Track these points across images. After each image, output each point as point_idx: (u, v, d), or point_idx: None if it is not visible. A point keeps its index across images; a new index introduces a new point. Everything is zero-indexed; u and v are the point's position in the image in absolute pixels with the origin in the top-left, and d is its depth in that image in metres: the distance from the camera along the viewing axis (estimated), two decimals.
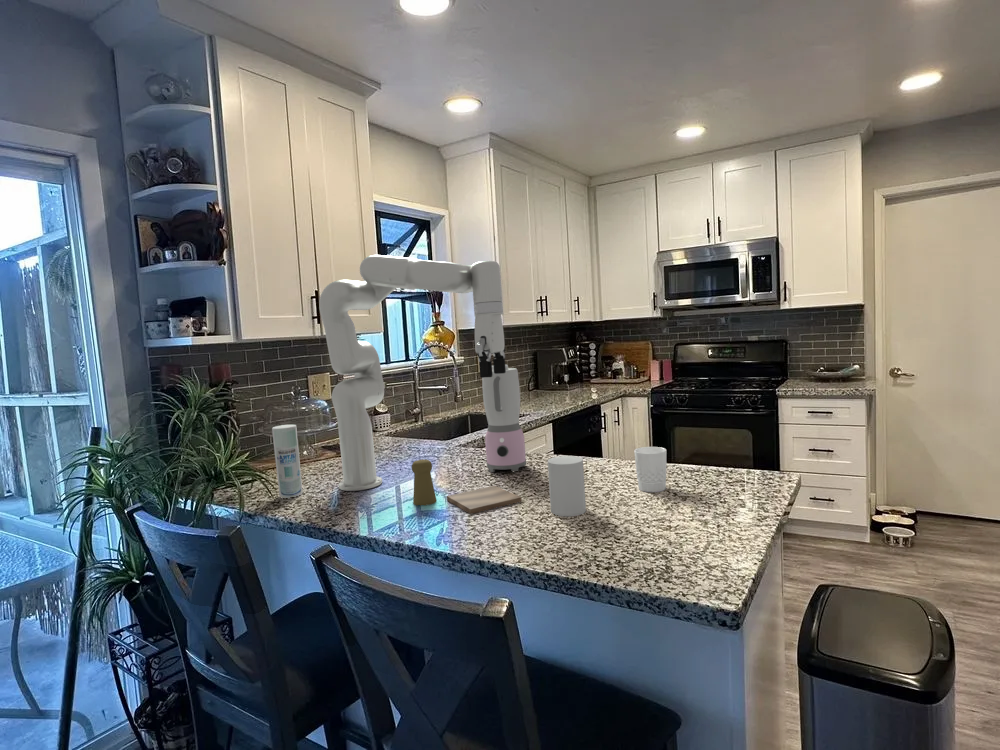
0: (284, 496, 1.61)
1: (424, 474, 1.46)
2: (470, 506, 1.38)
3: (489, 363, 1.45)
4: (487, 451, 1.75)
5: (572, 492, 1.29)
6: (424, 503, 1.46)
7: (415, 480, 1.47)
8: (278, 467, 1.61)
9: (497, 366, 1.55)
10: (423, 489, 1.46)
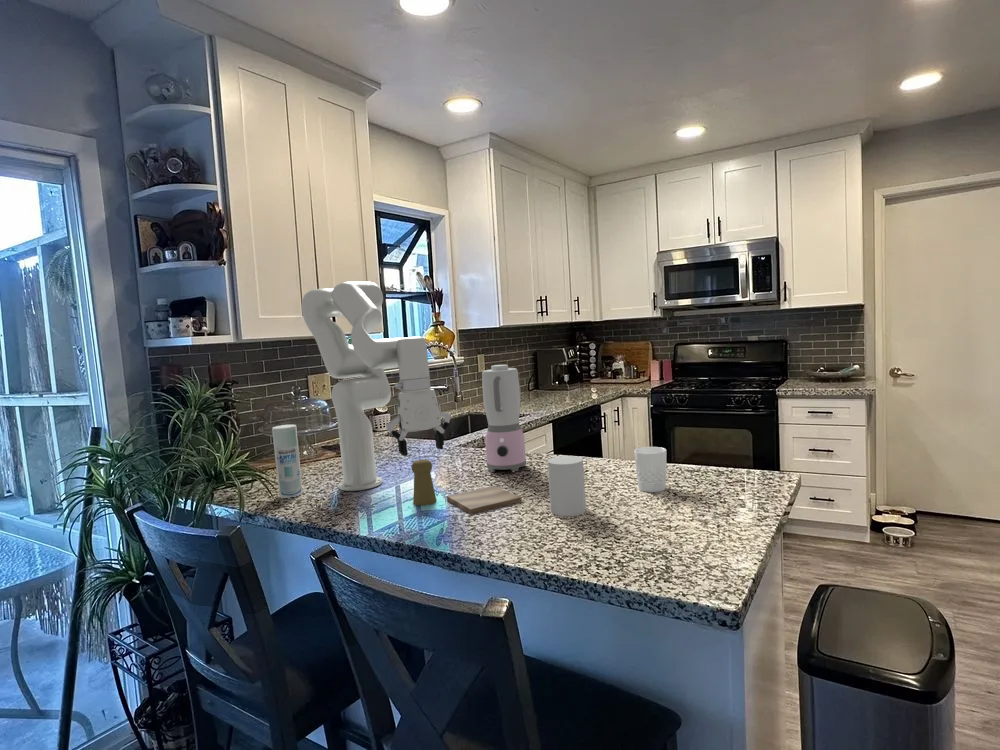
0: (284, 496, 1.61)
1: (424, 474, 1.46)
2: (470, 506, 1.38)
3: None
4: (487, 451, 1.75)
5: (572, 492, 1.29)
6: (424, 503, 1.46)
7: (415, 480, 1.47)
8: (278, 467, 1.61)
9: None
10: (423, 489, 1.46)
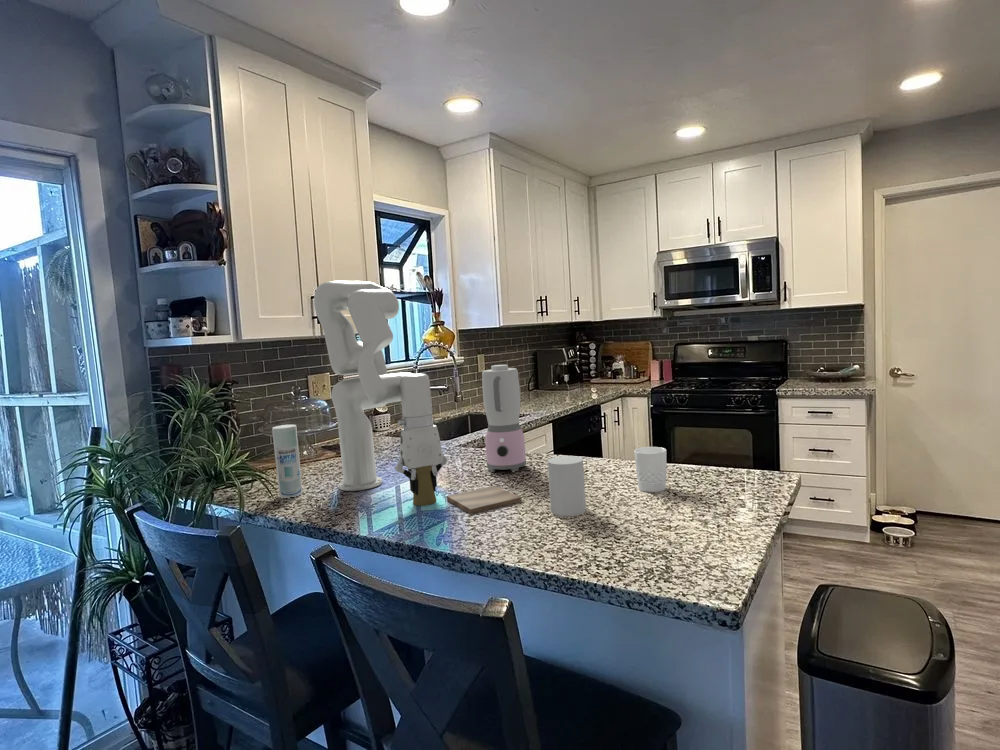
0: (284, 496, 1.61)
1: (424, 474, 1.46)
2: (470, 506, 1.38)
3: None
4: (487, 451, 1.75)
5: (572, 492, 1.29)
6: (424, 503, 1.46)
7: None
8: (278, 467, 1.61)
9: None
10: (422, 489, 1.46)
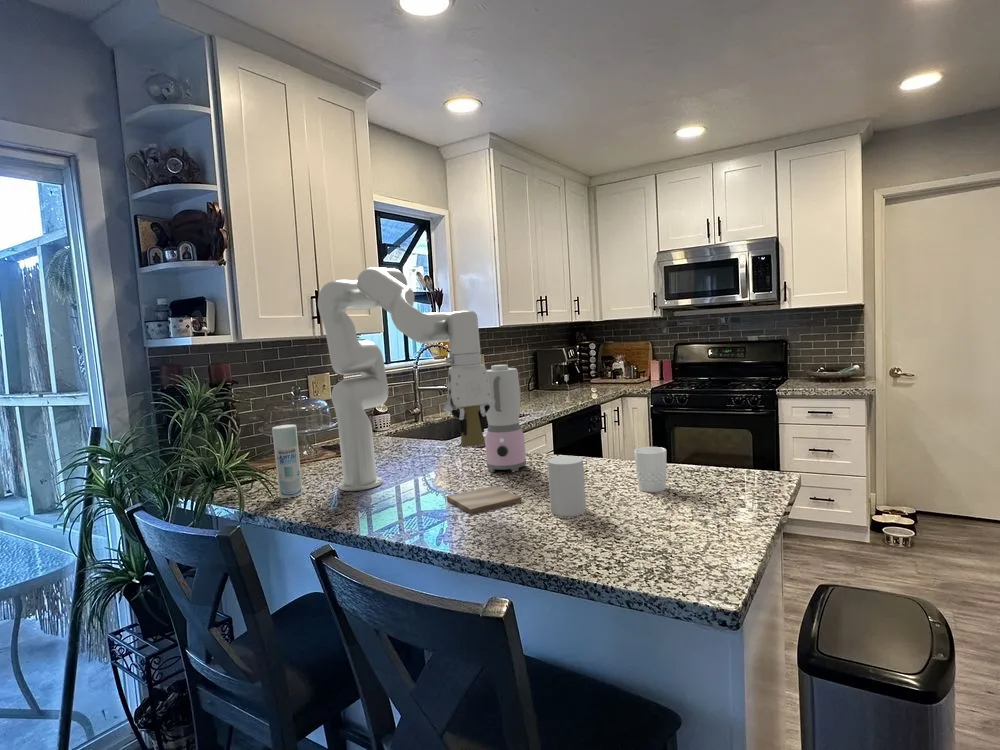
0: (284, 496, 1.61)
1: (472, 413, 1.42)
2: (470, 506, 1.38)
3: None
4: (487, 451, 1.75)
5: (572, 492, 1.29)
6: (473, 443, 1.42)
7: None
8: (278, 467, 1.61)
9: None
10: (471, 429, 1.42)
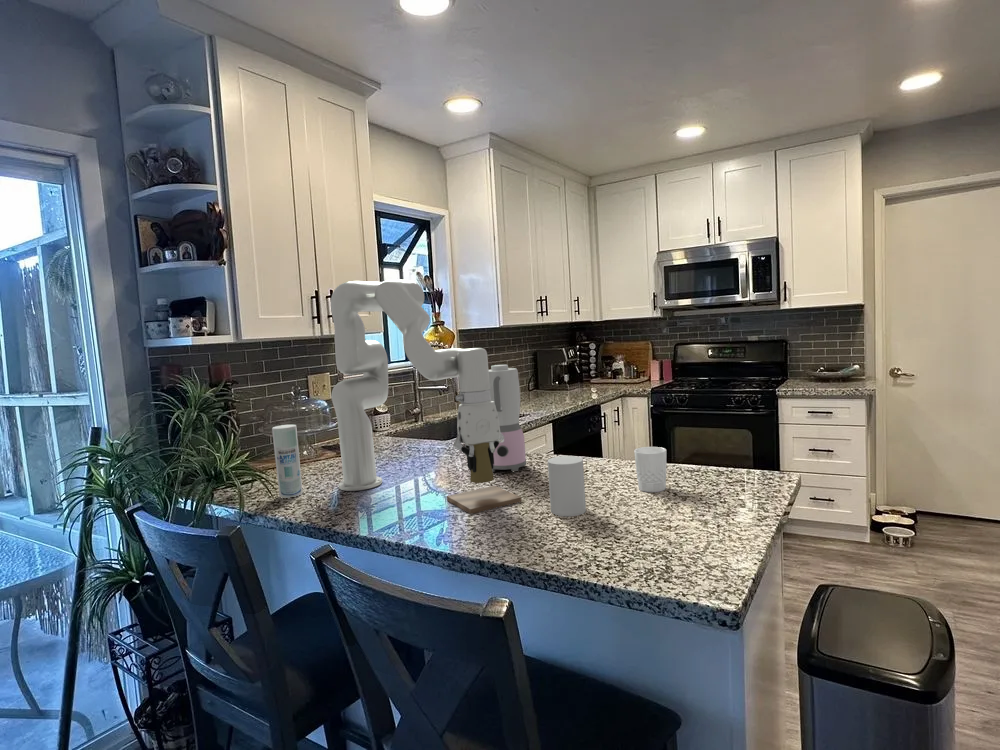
0: (284, 496, 1.61)
1: (482, 450, 1.42)
2: (470, 506, 1.38)
3: None
4: None
5: (572, 492, 1.29)
6: (482, 480, 1.42)
7: None
8: (278, 467, 1.61)
9: None
10: (481, 466, 1.42)
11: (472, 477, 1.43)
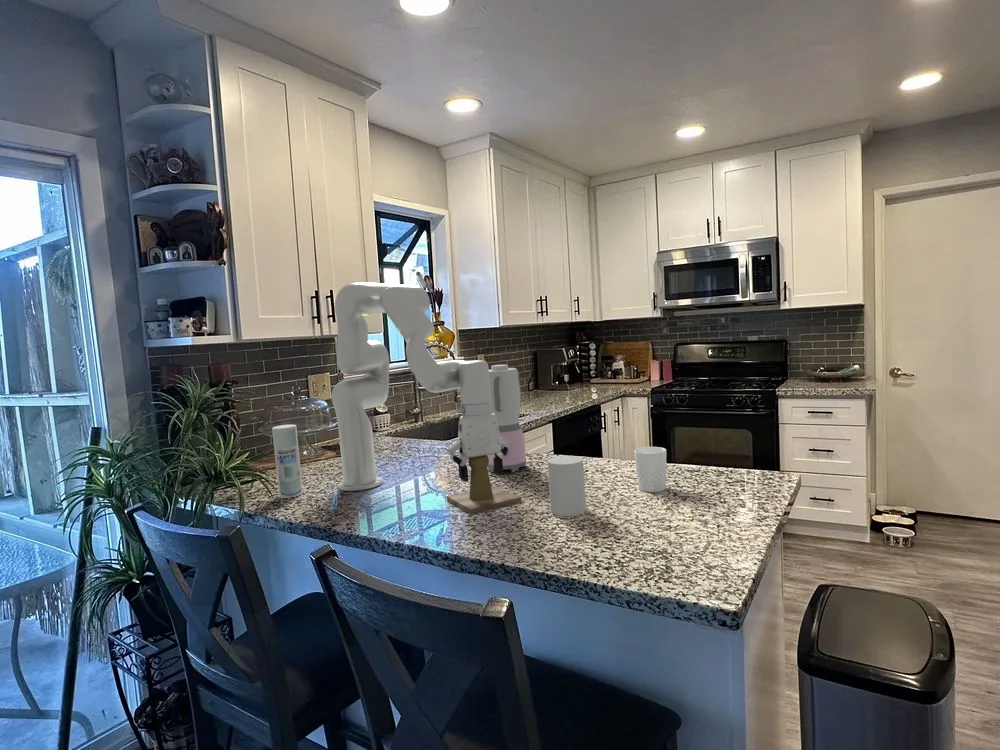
0: (284, 496, 1.61)
1: (482, 468, 1.43)
2: (470, 506, 1.38)
3: None
4: None
5: (572, 492, 1.29)
6: (481, 498, 1.42)
7: (472, 474, 1.44)
8: (278, 467, 1.61)
9: None
10: (480, 484, 1.42)
11: (471, 494, 1.44)
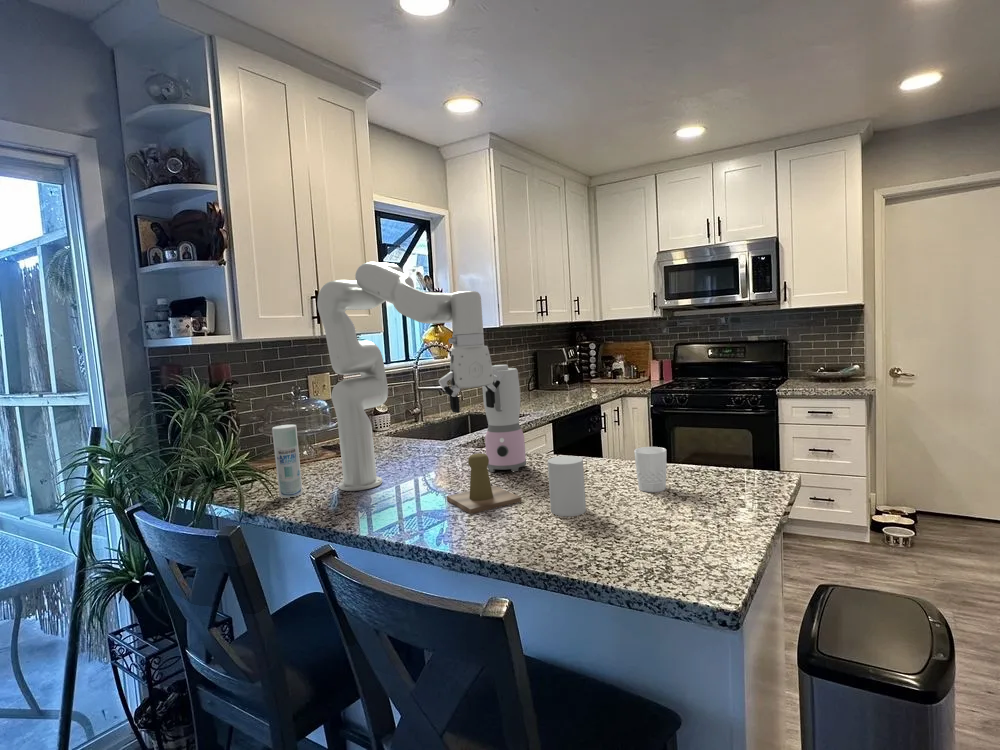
0: (284, 496, 1.61)
1: (481, 468, 1.43)
2: (470, 506, 1.38)
3: None
4: (487, 451, 1.75)
5: (572, 492, 1.29)
6: (481, 498, 1.42)
7: (472, 474, 1.43)
8: (278, 467, 1.61)
9: None
10: (480, 484, 1.42)
11: (471, 494, 1.44)
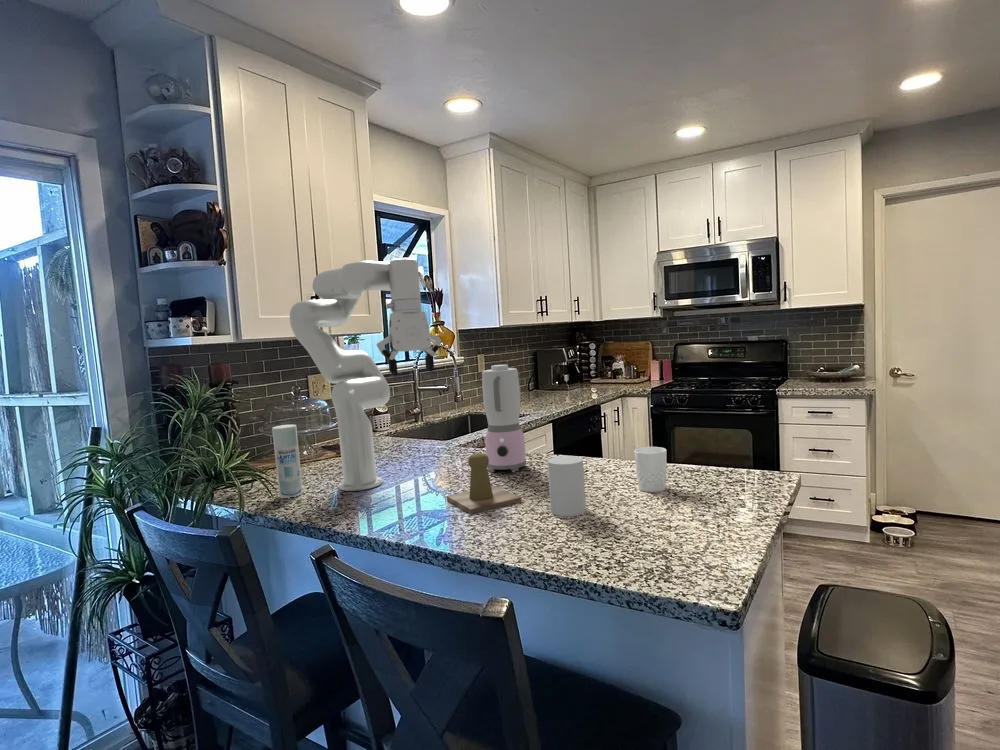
0: (284, 496, 1.61)
1: (481, 468, 1.43)
2: (470, 506, 1.38)
3: None
4: (487, 451, 1.75)
5: (572, 492, 1.29)
6: (481, 498, 1.42)
7: (472, 474, 1.43)
8: (278, 467, 1.61)
9: None
10: (480, 484, 1.42)
11: (471, 494, 1.44)
